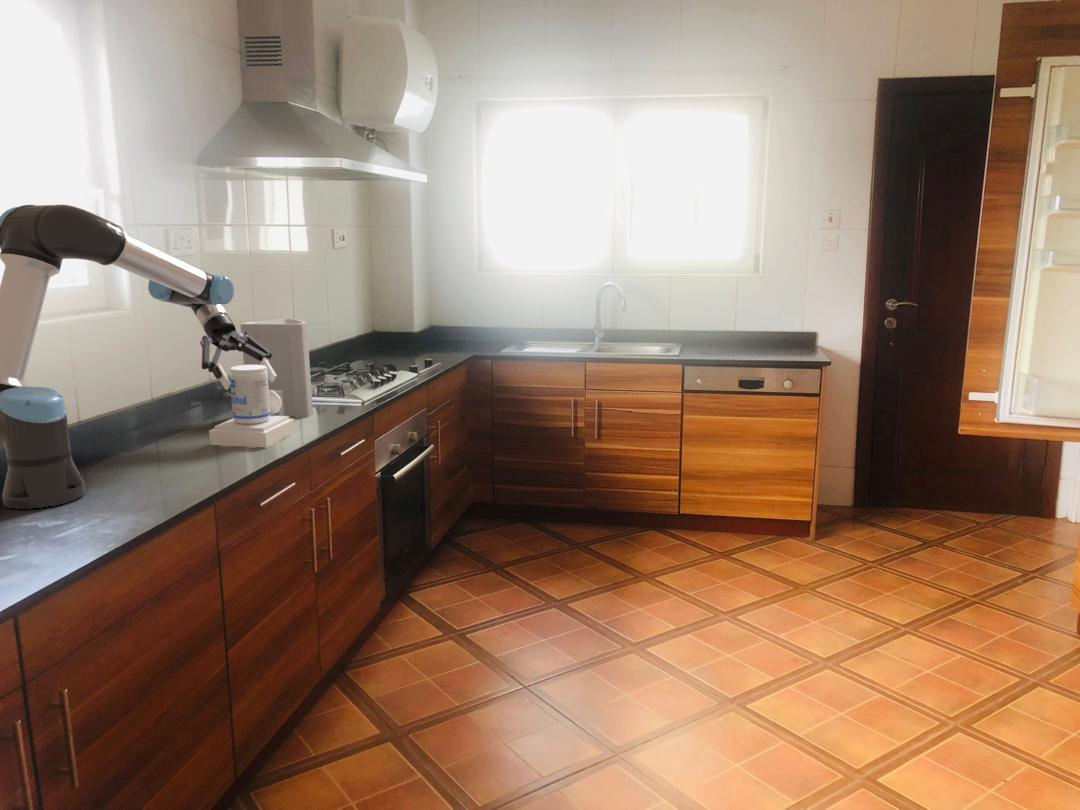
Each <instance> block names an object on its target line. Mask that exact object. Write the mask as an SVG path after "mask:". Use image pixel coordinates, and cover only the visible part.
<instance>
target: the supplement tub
mask: <svg viewBox="0 0 1080 810" xmlns="http://www.w3.org/2000/svg"><path fill="white" fill-rule="evenodd" d="M229 380H230V382H231V385H230V396H231V397H230V398H231V410H232V419H233V420H234V422H236V423H239V424H257V423H262V422H266V421H268V420H269V419H270V404H269V388H268V373H267V367H266V366H264V365H244V364H242V365H235V366H234V365H233V366H231V367H229Z"/></svg>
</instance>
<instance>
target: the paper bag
mask: <svg viewBox="0 0 1080 810" xmlns="http://www.w3.org/2000/svg"><path fill="white" fill-rule="evenodd" d="M239 325H240V334H243V333H245V331H248V332H249V333H250V334H251V336H252V337H253V338H255V339H256V340H257V341H259V342H260V343H261V344H262V345H264V346H265V347H266V348H268V349H269V350H270V351H271V352H273V355H272V357H271V358H270V361H271V363H272V365H273V370H274V372H275V373H276V375H277V376H276V378H275V380H274V381H273V382H270V380H269V378H268V388H269V390H283V402H284V415H285V416H291V417H290V418H308V417H310V416H312V415H314V410H313V409H314V408H313V394H312V393H313V392H312V379H311V366H310V363H311V362H310V350H309V338H308V335H309V334H308V322H306V321H303V320H301V319H297V318H279V319H270V320H269V319H268V320H258V321H257V320H256V321H255V320H254V321H246V322H243V323H240V324H239ZM242 357H243V365H260V363H261V361H259V360H257V359H255V358H253V357H252V356H250V355H248V354H246V353H244V352H242ZM262 358H263V357H262ZM292 416H294V417H292Z"/></svg>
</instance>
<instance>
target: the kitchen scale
mask: <svg viewBox="0 0 1080 810" xmlns="http://www.w3.org/2000/svg"><path fill="white" fill-rule="evenodd" d="M269 404H270V419H269V420H268V421H266V422H262V423H257V424H239V423H236V422H234V420H233V418H230V419H229V420H226V421H224V422H221V423H219V424H216V425H214V428H212V429H210V430H208V435H209V437H208V438H209V443H210V445H219V446H218V447H232V446H245V447H244V448H247V447H246V446H249V447H248V448H256V447H262V449H267V448H269V447H271V446H273V445H275V444H277V443H279V442H281V441H283V440H285V439H286V437H287V438H288V436H289V437H290V436H292V435H294V434H296V425H295V418H290V417H289V416H285V415H284V402H283V390H269ZM284 438H285V439H284ZM282 439H283V440H282ZM280 440H281V441H280ZM278 441H279V442H278ZM276 442H277V443H276ZM274 443H275V444H274ZM210 445H209V446H210ZM220 445H221V446H220ZM263 447H264V448H263Z"/></svg>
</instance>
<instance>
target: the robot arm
mask: <svg viewBox="0 0 1080 810" xmlns="http://www.w3.org/2000/svg"><path fill="white" fill-rule="evenodd" d="M68 259H69V260H71V259H75V260H85V261H91V262H94V263H96V264H99V265H102V266H110V265H113V266H115V267H118V268H120V269H122V270H125V271H127V272H130V273H133V274H135V275H137V276H140V277H141V278H144V279H146V280H148V288H147V290H148V293H149V295H150V296H151V297H152V298H153V299H155V300H159V301H160V302H162V303H164V302H165V303H169V304H175V305H179V306H182V307H186V308H190V309H191V310H192V311H193V313H194V315H195V317H196V318H197V320H198V322H199V323H200V325H201V327H202V329H203V331H204V333H205V334H206V335H203V336H202V337H201V340H200V342H199V343H200V346H201V348H202V349H201V350H202V351H201V369H203V370H207V369H208V372H209V373H212V374H213V376H214V377H215V378H216V379H217V380H219V381H220V383H221V385H222V387H223V388H224V390H225V391H226V390H229V388H231V386H230V385H231V382H230V377H228V375H227V372H226V371H225V369H224V368H223V366H222V365H221V363H218V361H219V359H220V356H221V353H222V351H224V352H229V351H238V352H242V353H243V352H244V353H246V354H248V355H250V356H252V357H253V358H255V359H257V360H259V361H261V363H260V365H264V366H266V367H267V373H268V378H269V380H270V382H273V381H274V380H275V378H276V376H277V375H276V373H275V372H274V370H273V365H272V363H271V361H270V358H271V357H272V355H273V352H271V351H270V350H269V349H268V348H266V347H265V346H264V345H262V344H261V343H260V342H259V341H257V340H256V339H255V338H253V337H252V336H251V334H250V333H249V332H248V331H245V333H243V334H241V333H239V332H238V331H237V329H236V325H235V324H234V322H233V320H232V319H231V317H230V316H229V314H228V312H227V310H226V309H225V307H224V305H226V304H229V303H231V301H232V300H233V298H234V295H235V286H234V284H233V281H232V279H230V278H229V277H228V276H225V275H220V274H215V275H213V274H210V273H209V272H206V271H204V270H202V269H200V268H197V267H195V266H194V265H191V264H190V263H187V262H185V261H183V260H182V259H179V258H176V257H175V256H172V255H171V254H168V253H166V252H165V251H162V250H160V249H158V248H155V247H154V246H151V245H149V244H147V243H145V242H143V241H142V240H139V239H136V238H135V237H133V236H131V235H129V234H127V233H126V231H125V229H124V228H123V227H122V226H121V225H118V224H116V223H115V222H114V223H113V222H112V221H110V220H108V219H106V218H103V217H101V216H99V215H97V214H95V213H93V212H90V211H88V210H86V209H83V208H80V207H77V206H73V205H69V204H53V205H52V204H47V205H46V204H45V205H43V204H41V205H35V204H23V205H19V206H14V207H12V208H8V209H7V210H5V212H3V213H2V214H0V260H1V262H2V263H3V265H4V266H5V267H4V271H3V274H2V278H1V280H0V281H1V282H0V448H3V449H4V450H5V456H6V460H7V472H6V476H5V480H4V484H3V485H4V486H3V490H2V502H3V506H4V505H5V506H7V507H9V508H8V509H10V508H15V509H14V510H18V509H28V510H34V509H33V508H40V509H43V508H42V507H47V508H49V507H48V506H53V507H56V506H55V505H58V506H60V505H59V504H62V505H65V504H68V503H67V502H69V503H71V502H70V501H72V502H74V501H76V499H77V498H79V499H81V498H82V497H84V496H83V495H84V494H85V495H86V493H87V492H86V485H85V481H84V479H83V477H82V476H81V474H80V471H79V470H78V468H77V466H76V464H75V462H74V460H73V457H72V449H71V443H70V435H69V427H68V426H69V424H68V419H67V418H68V417H67V407H66V404H65V401H64V397H63V395H62V394H61V393H60V392H59V391H58V390H56V389H53V388H49V387H42V386H34V387H33V386H28V385H27V384H26V382H25V377H26V373H27V369H28V366H29V365H28V364H29V362H30V357H31V353H32V349H33V346H34V340H35V337H36V333H37V330H38V326H39V323H40V318H41V314H42V310H43V305H44V302H45V298H46V294H47V290H48V286H49V282H50V279H51V278H52V277H54V276H56V275H58V274H59V273H60V271H61V267H62V263H63V260H68ZM240 344H241V345H240ZM211 345H213V346H215V347H216V349H215V352H214V354H213V356H212V357H213V358H212V359H211V361H210V352H211V351H210V348H211ZM262 357H263V358H262ZM81 496H82V497H81ZM80 497H81V498H80ZM73 500H74V501H73ZM77 500H78V499H77ZM64 503H65V504H64ZM5 506H4V507H5ZM7 507H6V508H7Z"/></svg>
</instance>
